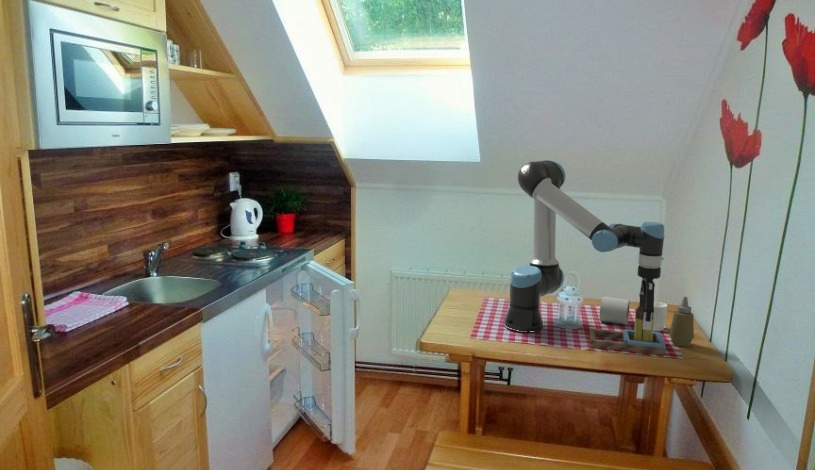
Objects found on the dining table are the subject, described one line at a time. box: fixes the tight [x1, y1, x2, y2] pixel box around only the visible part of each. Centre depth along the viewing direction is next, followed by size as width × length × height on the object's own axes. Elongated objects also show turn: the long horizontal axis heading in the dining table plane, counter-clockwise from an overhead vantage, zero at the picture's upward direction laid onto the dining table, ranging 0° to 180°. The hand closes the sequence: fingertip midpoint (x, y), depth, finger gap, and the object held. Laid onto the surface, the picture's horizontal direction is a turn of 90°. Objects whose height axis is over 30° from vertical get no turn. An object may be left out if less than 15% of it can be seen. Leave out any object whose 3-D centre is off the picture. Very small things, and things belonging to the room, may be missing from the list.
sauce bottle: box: [633, 291, 654, 343], centre depth 211 cm, size 6×6×20 cm
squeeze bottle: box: [669, 296, 695, 348], centre depth 213 cm, size 8×8×18 cm
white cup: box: [653, 300, 668, 332], centre depth 231 cm, size 8×8×10 cm
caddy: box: [589, 328, 666, 356], centre depth 214 cm, size 25×13×4 cm, turn 75°
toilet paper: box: [599, 296, 631, 326], centre depth 237 cm, size 10×10×10 cm
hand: (644, 323), depth 211 cm, fingers open, 13 cm apart
